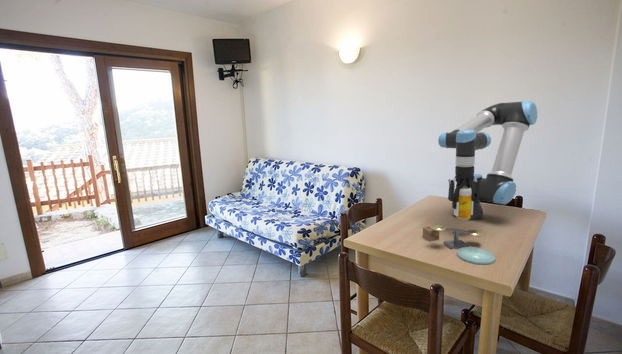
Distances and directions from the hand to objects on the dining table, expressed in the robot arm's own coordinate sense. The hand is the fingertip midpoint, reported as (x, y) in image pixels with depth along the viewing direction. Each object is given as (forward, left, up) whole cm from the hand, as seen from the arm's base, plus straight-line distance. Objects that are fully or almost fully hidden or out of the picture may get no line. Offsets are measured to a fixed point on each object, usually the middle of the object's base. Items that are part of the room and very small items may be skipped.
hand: (463, 214), depth 135 cm
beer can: (0, 0, -2) cm, 2 cm away
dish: (+7, +21, -10) cm, 25 cm away
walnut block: (+16, +1, -10) cm, 19 cm away
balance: (+9, +10, -10) cm, 17 cm away
